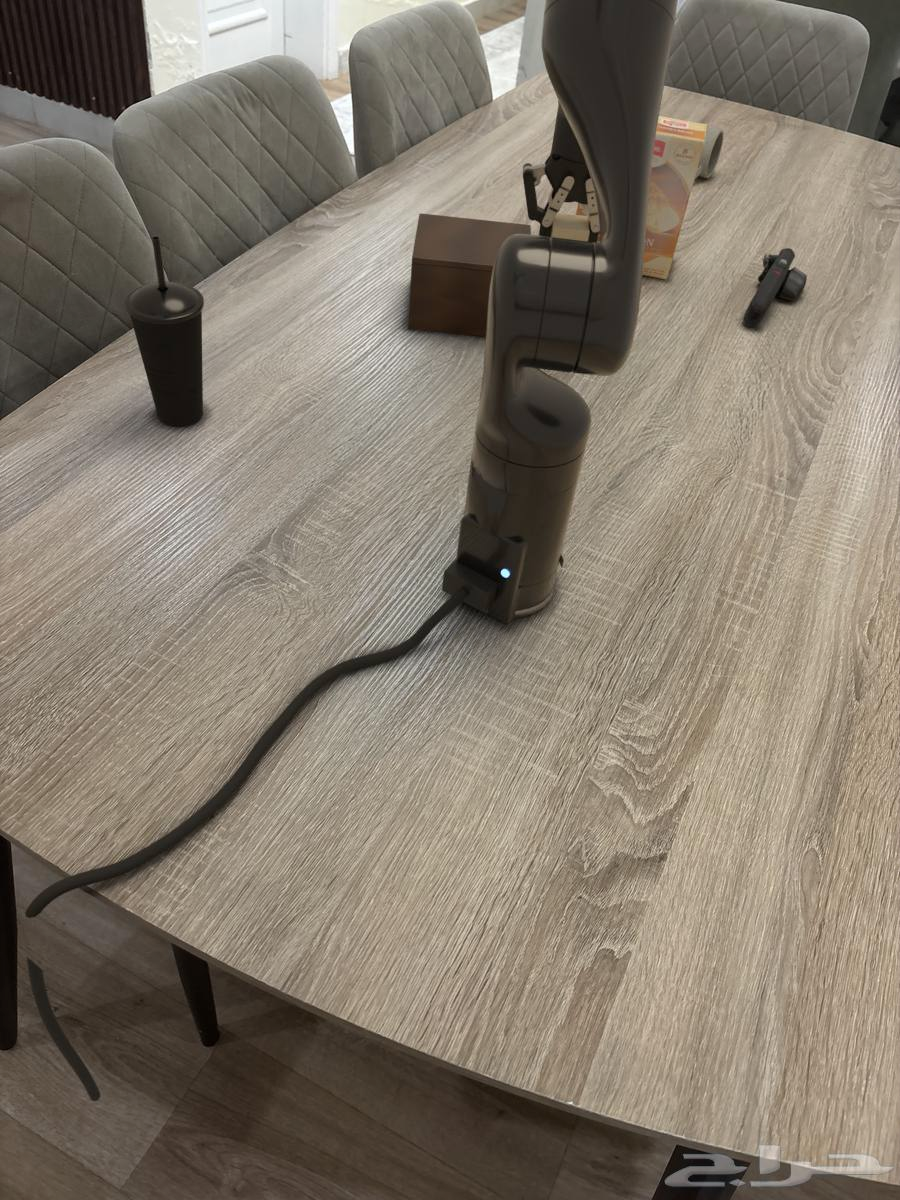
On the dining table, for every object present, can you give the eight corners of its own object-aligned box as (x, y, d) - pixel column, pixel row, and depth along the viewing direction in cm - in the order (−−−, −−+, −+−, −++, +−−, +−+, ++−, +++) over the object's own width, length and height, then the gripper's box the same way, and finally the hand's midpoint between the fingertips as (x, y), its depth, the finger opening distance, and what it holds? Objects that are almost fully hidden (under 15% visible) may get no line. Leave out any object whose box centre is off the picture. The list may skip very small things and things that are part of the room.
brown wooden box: (520, 293, 129) (530, 224, 123) (521, 340, 121) (532, 269, 114) (414, 282, 129) (419, 212, 122) (407, 328, 120) (412, 257, 113)
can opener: (761, 273, 140) (774, 237, 136) (807, 288, 138) (821, 251, 134) (722, 320, 129) (734, 282, 125) (770, 337, 127) (785, 299, 123)
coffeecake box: (566, 261, 137) (592, 120, 123) (573, 241, 142) (599, 103, 128) (667, 281, 136) (705, 140, 122) (671, 260, 141) (708, 122, 127)
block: (580, 250, 121) (587, 216, 117) (582, 266, 117) (589, 231, 114) (546, 246, 120) (551, 212, 117) (547, 263, 117) (553, 227, 114)
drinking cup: (146, 438, 100) (114, 258, 86) (142, 397, 105) (112, 221, 91) (219, 431, 102) (200, 255, 87) (212, 392, 107) (193, 219, 92)
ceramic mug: (672, 158, 169) (683, 113, 164) (716, 170, 167) (728, 125, 162) (653, 178, 163) (664, 131, 157) (698, 190, 160) (711, 144, 155)
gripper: (528, 115, 104) (508, 263, 116) (656, 129, 104) (623, 275, 116) (528, 93, 109) (508, 236, 121) (649, 106, 109) (618, 247, 122)
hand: (564, 254), depth 119 cm, fingers closed on block, 4 cm apart
